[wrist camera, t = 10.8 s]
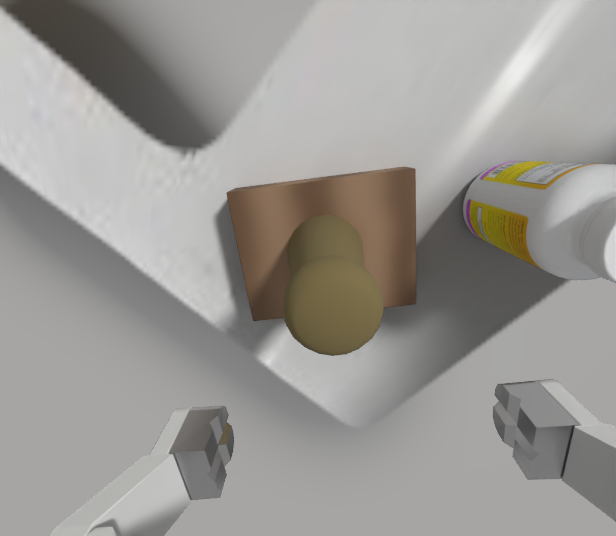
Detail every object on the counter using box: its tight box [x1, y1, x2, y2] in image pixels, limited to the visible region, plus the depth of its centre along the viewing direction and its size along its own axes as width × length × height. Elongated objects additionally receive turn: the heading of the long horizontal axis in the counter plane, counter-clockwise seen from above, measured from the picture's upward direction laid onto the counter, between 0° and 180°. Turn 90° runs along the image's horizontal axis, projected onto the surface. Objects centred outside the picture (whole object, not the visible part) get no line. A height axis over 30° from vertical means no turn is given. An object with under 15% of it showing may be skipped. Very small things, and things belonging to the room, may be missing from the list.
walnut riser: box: [227, 167, 416, 321], centre depth 27 cm, size 14×11×3 cm
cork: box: [282, 215, 383, 356], centre depth 20 cm, size 6×6×11 cm
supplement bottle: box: [463, 161, 616, 283], centre depth 21 cm, size 7×7×13 cm
